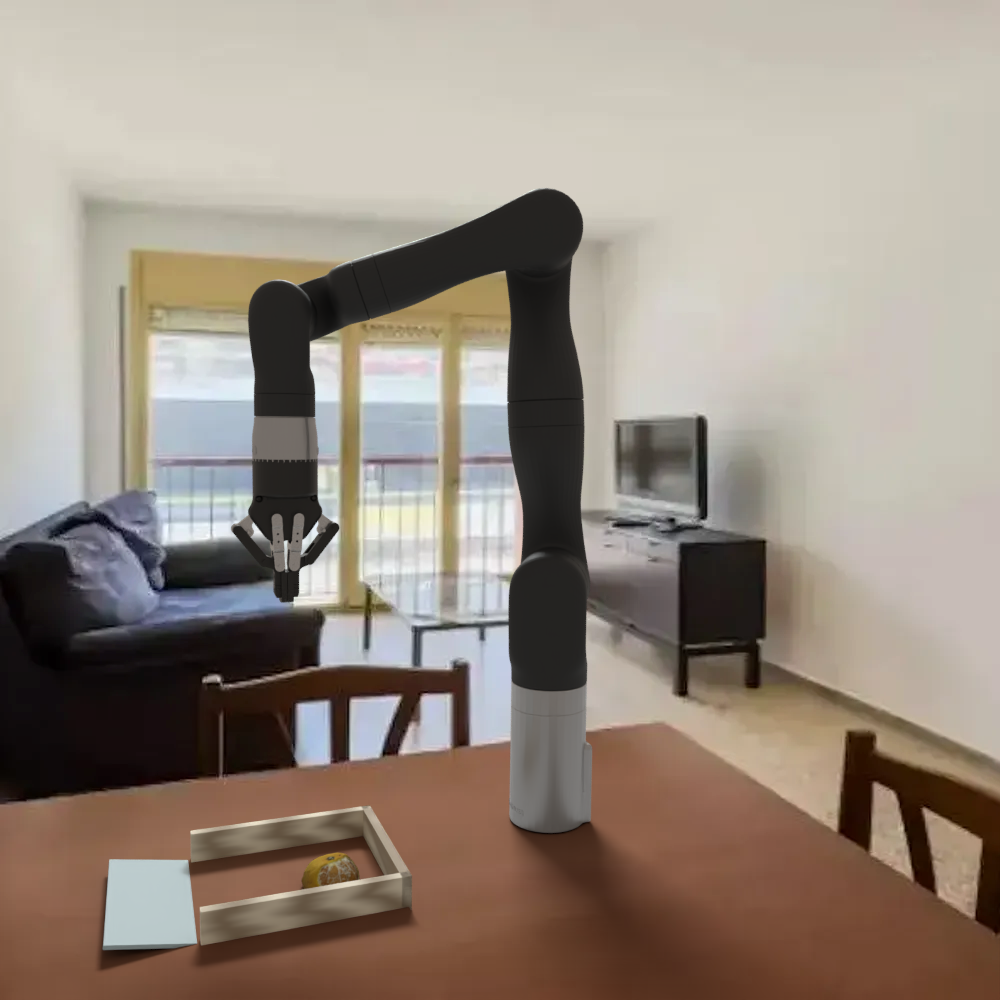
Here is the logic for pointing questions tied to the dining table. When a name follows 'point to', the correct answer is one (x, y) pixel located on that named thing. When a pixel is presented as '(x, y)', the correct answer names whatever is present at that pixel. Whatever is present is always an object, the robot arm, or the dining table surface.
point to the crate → (304, 903)
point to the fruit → (330, 870)
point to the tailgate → (148, 905)
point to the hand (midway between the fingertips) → (286, 601)
